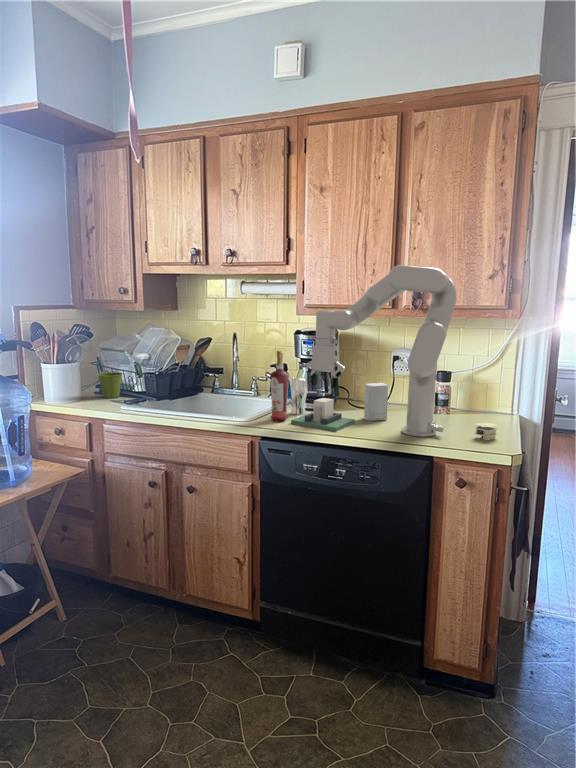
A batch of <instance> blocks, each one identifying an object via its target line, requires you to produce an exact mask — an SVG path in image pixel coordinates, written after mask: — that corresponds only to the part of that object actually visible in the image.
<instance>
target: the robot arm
mask: <svg viewBox="0 0 576 768" xmlns="http://www.w3.org/2000/svg"><path fill="white" fill-rule="evenodd" d="M406 291H409V292H416V293H418V292H419V293H429V294H431V300H430V304H429V307H428V310H427V313H426V316H425V319H424V322H423V323H422V324H421V325H420V327H419V328H418V331H417V333H416V336H415V339H414V342H413V344H412V347H411V351H410V354H409V357H408V359H407V369H408V371H409V377H408V378H409V379H408V390H407V391H408V392H407V404H406V405H407V409H406V425H405V426H402V428H401V432H402V433H403V434H405V435H407V436H408V435H409V436H413V437H420V438H421V437H422V438H423V437H434V436H436V435H437V432H438V433H443V432H444V430H445V429H444V426H442V425H437V424H436V421H435V420H434V410H435V409H434V406H435V393H436V383H437V381H436V379H437V371H438V361H439V360H438V359H439V357H440V355H441V352H442V349H443V347H444V343H445V341H446V337H447V335H448V334H447V333H448V328H449V325H450V323H451V320H452V318H453V317H452V316H453V314H454V311H455V307H456V304H457V290H456V286H455V284H454V282H453V280H452V279H451V278H450V277H449V275H448V274H446V273H445V271H443V270H441V268H436V267H427V266H414V265H407V264H406V265H405V264H398V265H395V266H393V267H392V268H391V269H390V270H389V272H388V274H386V275H385V276H384V277H383V278H381V279H380V280H379V281H377V282H375V283H374V284H372V285H371V286H370V287H369V288H368V289H367V290H366V291H365V293H364V294H363V296H362V297H361V298H360V299H359V300H357V301H356V302H355V303H354V304H352V305H351V306H349V307H348V308H346V309H342V310H331V309H321V310H320V309H319V310H317V312H316V314H315V316H316V317H315V345H314V346H313V349H312V356H311V360H310V361H308V362H306V363H305V367H306V370H307V372H308V373H309V375H310V383H311V387H313V386H317V385H318V375H317V373H318V372H324V373H325V372H326V373H330V374H331V375H332V379H331V388H332V389H336V388H338V386H339V378H340V377H341V375H342V374H343V373H344V371H345V369H346V367H345V366H344V365H343V364H341V363H340V359H339V358H340V357H339V351H338V350H339V349H338V346H337V345H336V344H338V343H339V340H338V339H336V330H338V331H347V330H351V329H353V328H355V327H356V326H358V325H360V324H361V323H362V322H364V321H365V320H366V319H368V318H369V317H370V316H372V315H373V314H374V313H376V312H378V311H379V310H381V309H382V308H383V307H384V306H386V305H387V304H388V303H390V302H391V301H393V300H394V299H395V298H397V297H398V296H400V295H401V294H402V293H404V292H406Z"/></svg>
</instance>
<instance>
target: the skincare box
mask: <svg viewBox="0 0 576 768" xmlns="http://www.w3.org/2000/svg"><path fill="white" fill-rule="evenodd" d="M388 393H389V385H388V384H386V383H384V382H376V383H375V382H374V383H372V382H371V383H365V384H364V406H363V407H364V409H363V410H364V412H363V415H364V416H363V417H364V419H366V420H367V421H368V422H374V421H387V420H388V398H389V397H388V395H389V394H388Z"/></svg>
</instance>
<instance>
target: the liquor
mask: <svg viewBox="0 0 576 768" xmlns="http://www.w3.org/2000/svg"><path fill="white" fill-rule="evenodd" d="M283 359H284V351H283V350H277V351H276V366H275V367H276V369H275V370H274V371H272V372H271V373H270V390H271V391H270V395H271V396H270V397H271V415H270V418H271V419H272V420H273V421H274V422H285V420H287V418H288V415H287V414H288V412H287V411H288V396H289V395H288V392H289V380H290V379H289V378H290V374H289V372H287V371H285V370H284V360H283Z"/></svg>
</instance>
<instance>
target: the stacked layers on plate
mask: <svg viewBox="0 0 576 768" xmlns="http://www.w3.org/2000/svg"><path fill="white" fill-rule="evenodd" d="M475 425H476V426H475V427H474V428H475V432H474V434H475V435H477V436H481V437H483V438H482V440H483V439H484V440H483V441H485V440H490V439H491V440H496V435H498V433H497V430H498V427H495V426H497V424H496V423H493V422H477V423H475ZM481 437H480V438H481ZM491 440H490V441H491Z"/></svg>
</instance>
